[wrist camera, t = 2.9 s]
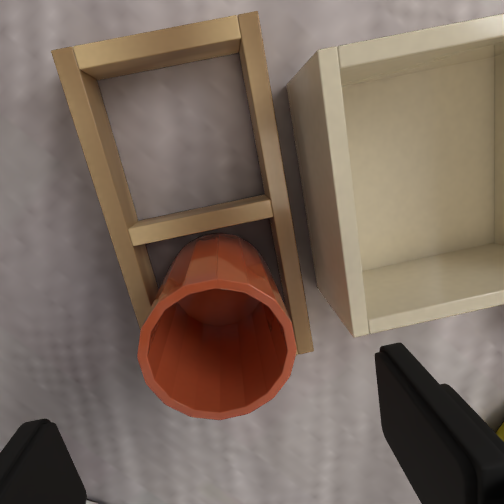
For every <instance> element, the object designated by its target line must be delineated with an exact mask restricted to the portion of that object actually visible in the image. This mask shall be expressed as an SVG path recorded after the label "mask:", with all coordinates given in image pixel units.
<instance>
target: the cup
mask: <svg viewBox="0 0 504 504" xmlns="http://www.w3.org/2000/svg"><path fill="white" fill-rule="evenodd" d="M296 352H297V347H296V342H295V336H294V330H293V325H292V322H291V320H290V317H289V315H288V313H287V310H286V308H285V305H284V303H283V301H282V298H281V296H280V294H279V291H278V289H277V287H276V284H275V282H274V280H273V277H272V275H271V272H270V270H269V268H268V265H267V264H266V262H265V261H264V259H263V257H262V255H261V254H260V253H259V251H258V250H257V249H256V248H255V247H254V246H253V245H252V244H250V243H249V242H247V241H246V240H244V239H242V238H240V237H237V236H234V235H230V234H223V233H215V234H208V235H205V236H201V237H199V238H196V239H195V240H193V241H191V242H189V243H188V244H187V245H186V246H184V247H183V248H182V249H181V250H180V252H179V253H178V254H177V256H176V257H175V259H174V261H173V263H172V264H171V266H170V268H169V270H168V272H167V274H166V276H165V278H164V280H163V283H162V285H161V287H160V289H159V291H158V293H157V295H156V298H155V300H154V302H153V304H152V306H151V308H150V310H149V312H148V315H147V317H146V319H145V321H144V323H143V325H142V327H141V330H140V338H139V346H138V353H137V359H138V362H139V365H140V368H141V371H142V374H143V377H144V380H145V383H146V384H147V386H148V387H149V388H150V389H151V390H152V391H153V392H154V393H155V394H156V395H157V396H158V398H159V399H160V400H161V401H162V402H163V403H164V404H165V405H167V406H169V407H171V408H173V409H175V410H177V411H179V412H182V413H184V414H186V415H188V416H190V417H195V418H205V419H214V420H223V419H227V418H232V417H236V416H241V415H245V414H248V413H251V412H252V411H254V410H256V409H257V408H259V407H260V406H262V405H264V404H265V403H267V402H268V401H270V400H272V399H273V398H274V397H275V395H276V394H277V393H278V392H279V390H280V389H281V388H282V386H283V385H284V384H285V382H286V381H287V380H288V379H289V377H290V375H291V371H292V367H293V363H294V360H295V356H296Z"/></svg>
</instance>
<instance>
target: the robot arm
mask: <svg viewBox="0 0 504 504" xmlns="http://www.w3.org/2000/svg"><path fill="white" fill-rule="evenodd" d="M375 365H376V375H377V385H378V394H379V404H380V414H381V424H382V430H383V433H384V436H385V438H386V440H387V442H388V444H389V446H390V448H391V449H392V451H393V453H394V455H395V457H396V458H397V460H398V462H399V464H400V466H401V467H402V469H403V471H404V473H405V475H406V476H407V478H408V480H409V482H410V484H411V485H412V487H413V489H414V491H415V493H416V494H417V496H418V498H419V500H420V502H421V503H422V504H504V441H503V440H502V439H501V438H500V437H499V436H498V435H497V434H496V433H495V432H494V431H493V430H492V429H491V428H490V427H489V426H488V425H487V424H486V423H485V422H484V421H483V419H482V418H481V417H480V416H479V415H478V414H477V413H476V412H475V411H474V410H473V409H472V408H471V407H470V406H469V405H468V404H467V403H466V402H465V401H464V400H463V399H462V398H461V396H460V395H459V394H458V393H457V392H456V391H455V390H454V389H453V388H452V387H450V386H449V385H447V384H439V383H438V382H437V381H436V380H435V379H434V378H433V377H432V376H431V374H430V373H429V372H428V371H427V370H426V369H425V368H424V367H423V366H422V365H421V364H420V362H419V361H418V360H417V359H416V358H415V357H414V356H413V355H412V354H411V353H410V352H409V350H408V349H407V348H406V347H405V346H404V345H403V344H402V343H395V344H390V345H386V346H381V347H380V352H378V353H375ZM0 504H98V503H95V502H92V501H88V500H87V495H86V490H85V488H84V485H83V483H82V481H81V479H80V477H79V474H78V472H77V470H76V468H75V465H74V463H73V461H72V459H71V457H70V454H69V452H68V450H67V448H66V445H65V443H64V441H63V439H62V437H61V434H60V432H59V430H58V428H57V426H56V424H55V423H52V422H50V421H49V420H48V419H40V420H35V421H30V422H26V423H24V424H22V425H21V426H20V427H19V428H18V430H17V431H16V432H15V434H14V435H13V437H12V438H11V439H10V441H9V442H8V443H7V445H6V446H5V447H4V449H3V450H2V451H1V453H0Z"/></svg>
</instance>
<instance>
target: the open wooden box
mask: <svg viewBox="0 0 504 504" xmlns="http://www.w3.org/2000/svg"><path fill="white" fill-rule="evenodd" d="M286 86H287V93H288V99H289V106H290V112H291V119H292V125H293V132H294V138H295V145H296V152H297V158H298V165H299V171H300V178H301V184H302V191H303V197H304V204H305V210H306V217H307V224H308V230H309V237H310V243H311V250H312V256H313V263H314V269H315V276H316V283H317V288H318V289H319V291H320V292H321V294H322V295H323V296H324V298H325V299H326V300H327V302H328V303H329V304H330V306H331V307H332V309H333V310H334V311H335V313H336V314H337V315H338V317H339V318H340V319H341V321H342V322H343V324H344V325H345V326H346V328H347V329H348V330H349V332H350V333H351V335H352V336H353V337H354V338H355V337H360V336H364V335H368V334H373V333H377V332H382V331H386V330H391V329H395V328H400V327H404V326H409V325H413V324H418V323H422V322H427V321H431V320H436V319H440V318H445V317H449V316H454V315H458V314H463V313H467V312H472V311H476V310H481V309H485V308H490V307H494V306H499V305H503V304H504V13H503V14H498V15H493V16H488V17H483V18H478V19H473V20H468V21H463V22H458V23H453V24H447V25H442V26H437V27H432V28H427V29H422V30H417V31H412V32H407V33H402V34H397V35H391V36H386V37H381V38H376V39H371V40H366V41H361V42H356V43H351V44H346V45H340V46H338V47H330V48H325V49H320V50H317V51H316V53H315V54H314V55H313V56H312V57H311V58H310V59H309V60H308V61H307V63H306V64H305V65H304V66H303V67H302V68H301V69H300V70H299V71H298V72H297V74H296V75H295V76H294V77H293V78H292V79H291V80H290V81H289V83H288V84H287V85H286Z"/></svg>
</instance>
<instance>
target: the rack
mask: <svg viewBox="0 0 504 504" xmlns="http://www.w3.org/2000/svg"><path fill="white" fill-rule="evenodd" d="M238 52H239V56H240V61H241V67H242V72H243V78H244V83H245V88H246V94H247V99H248V105H249V110H250V116H251V121H252V127H253V132H254V137H255V143H256V148H257V154H258V159H259V165H260V170H261V176H262V181H263V186H264V192H265V195H260V196H255V197H250V198H245V199H240V200H236V201H231V202H226V203H221V204H216V205H212V206H207V207H202V208H197V209H192V210H188V211H183V212H178V213H173V214H168V215H164V216H159V217H154V218H149V219H144V220H139V221H138V219H137V215H136V212H135V208H134V205H133V201H132V198H131V195H130V191H129V188H128V184H127V181H126V178H125V174H124V171H123V167H122V164H121V161H120V157H119V154H118V150H117V147H116V144H115V140H114V137H113V133H112V130H111V127H110V123H109V120H108V116H107V113H106V109H105V106H104V103H103V99H102V96H101V92H100V89H99V86H98V82H97V80H102V79H107V78H113V77H118V76H123V75H128V74H133V73H138V72H143V71H148V70H153V69H159V68H164V67H169V66H174V65H179V64H184V63H189V62H194V61H200V60H205V59H210V58H215V57H220V56H225V55H230V54H235V53H238ZM51 53H52V56H53V59H54V62H55V65H56V68H57V71H58V75H59V78H60V81H61V84H62V87H63V90H64V93H65V96H66V99H67V103H68V106H69V109H70V112H71V115H72V118H73V121H74V124H75V128H76V131H77V134H78V137H79V140H80V143H81V146H82V149H83V152H84V156H85V159H86V162H87V165H88V168H89V171H90V174H91V177H92V181H93V184H94V187H95V190H96V193H97V196H98V199H99V202H100V205H101V209H102V212H103V215H104V218H105V221H106V224H107V227H108V230H109V234H110V237H111V240H112V243H113V246H114V249H115V252H116V255H117V258H118V262H119V265H120V268H121V271H122V274H123V277H124V280H125V283H126V287H127V290H128V293H129V296H130V299H131V302H132V305H133V308H134V311H135V315H136V318H137V321H138V324H139V327H140V330H141V327H142V325H143V323H144V321H145V319H146V317H147V315H148V312H149V310H150V308H151V306H152V304H153V302H154V300H155V298H156V295H157V293H158V291H159V290H158V287H157V283H156V280H155V276H154V273H153V270H152V266H151V263H150V259H149V256H148V253H147V249H146V246H145V244H147V243H152V242H157V241H161V240H166V239H171V238H176V237H180V236H185V235H190V234H195V233H199V232H204V231H209V230H214V229H219V228H223V227H228V226H233V225H238V224H242V223H247V222H252V221H257V220H261V219H266V218H269V219H270V225H271V230H272V235H273V241H274V246H275V252H276V257H277V263H278V268H279V273H280V279H281V284H282V290H283V295H284V301H285V306H286V310H287V313H288V315H289V317H290V320H291V322H292V325H293V330H294V336H295V342H296V347H297V352H296V355H297V354H304V353H308V352H313V351H314V348H313V342H312V336H311V330H310V324H309V318H308V312H307V306H306V300H305V294H304V288H303V282H302V275H301V269H300V263H299V257H298V251H297V245H296V239H295V233H294V227H293V221H292V215H291V209H290V203H289V197H288V191H287V185H286V178H285V172H284V166H283V160H282V154H281V148H280V142H279V136H278V130H277V124H276V118H275V112H274V106H273V100H272V94H271V87H270V81H269V75H268V69H267V63H266V57H265V51H264V45H263V39H262V33H261V27H260V21H259V15H258V11H255V12H250V13H244V14H239V15H238V16H237V15H234V16H229V17H224V18H219V19H213V20H208V21H203V22H198V23H193V24H187V25H182V26H177V27H172V28H166V29H161V30H156V31H151V32H146V33H140V34H135V35H130V36H125V37H120V38H114V39H109V40H104V41H99V42H94V43H88V44H83V45H78V46H74V47H66V48H61V49H56V50H52V51H51Z"/></svg>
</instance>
